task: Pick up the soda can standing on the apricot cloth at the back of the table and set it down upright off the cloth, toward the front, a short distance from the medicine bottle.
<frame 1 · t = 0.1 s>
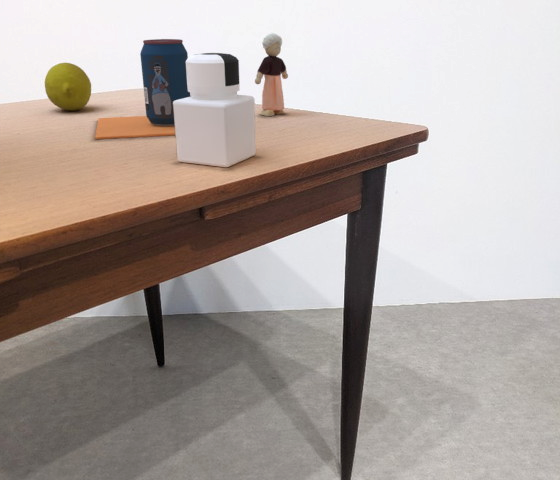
soda can: (170, 124, 94), resting on orange cloth
grandmother figurine: (273, 114, 103), on the table
medicine bottle: (217, 160, 74), on the table
lemon: (72, 111, 108), on the table
orange cloth: (170, 125, 94), on the table
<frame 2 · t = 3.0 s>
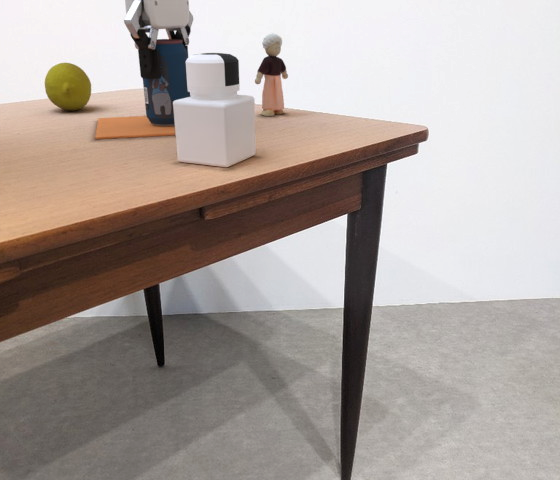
hand: (165, 74, 91), 7 cm above the table, tool pointing down, fingers closed on soda can, 7 cm apart
soda can: (170, 124, 94), resting on orange cloth, touching gripper
everything else where it was.
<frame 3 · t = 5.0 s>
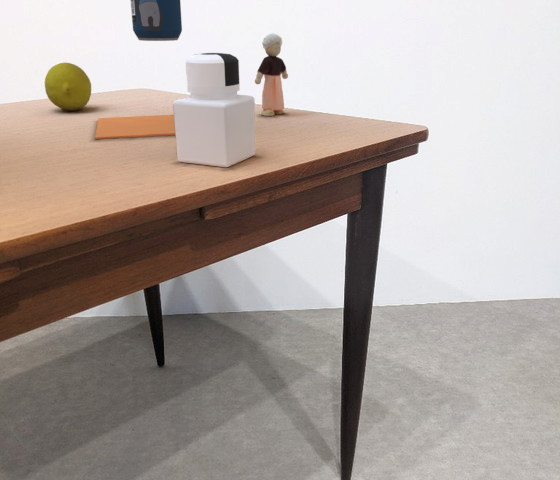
soda can: (158, 41, 88), point 12 cm above the table, touching gripper
everything else where it was.
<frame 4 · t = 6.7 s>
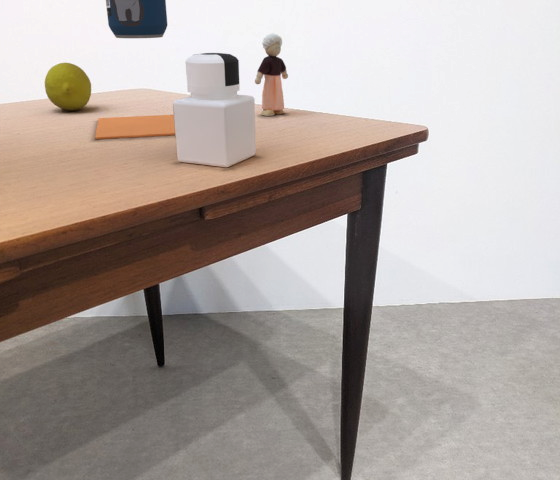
soda can: (139, 38, 73), point 13 cm above the table, touching gripper
everything else where it was.
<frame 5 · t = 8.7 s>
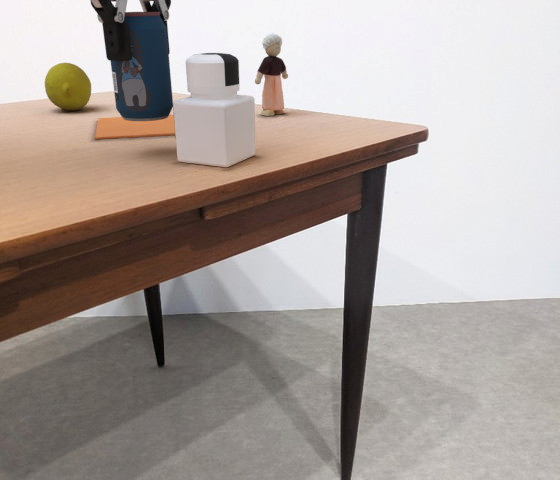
hand: (139, 56, 72), 11 cm above the table, tool pointing down, fingers closed on soda can, 7 cm apart
soda can: (146, 119, 76), point 4 cm above the table, touching gripper
everything else where it was.
when the fingers open (7 cm above the table, at t = 10.4 s): soda can stays where it is, on the table.
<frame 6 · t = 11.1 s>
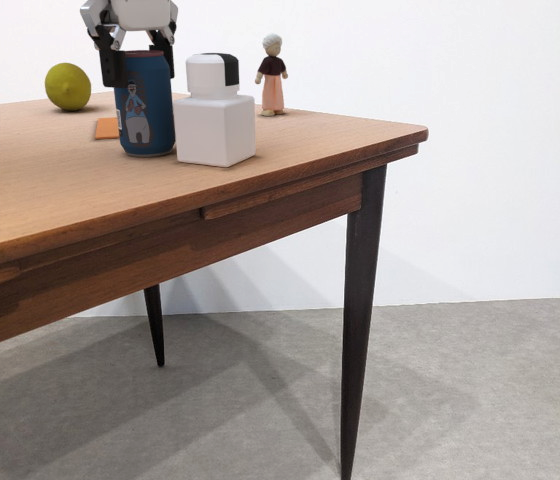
hand: (140, 82, 74), 8 cm above the table, tool pointing down, fingers open, 9 cm apart
soda can: (149, 153, 77), on the table
everything else where it was.
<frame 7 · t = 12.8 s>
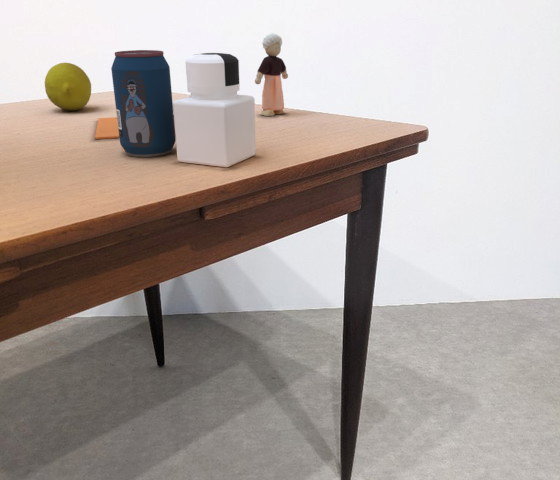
nothing on the table moved.
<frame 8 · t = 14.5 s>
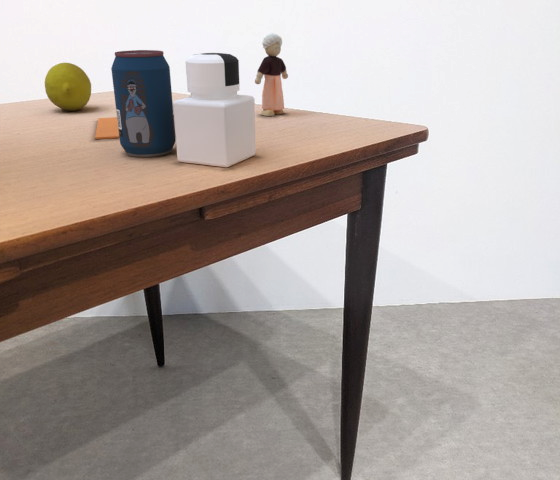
nothing on the table moved.
at the end: soda can touching table; soda can 9.9 cm from the medicine bottle (horizontally); soda can tilted 0° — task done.
